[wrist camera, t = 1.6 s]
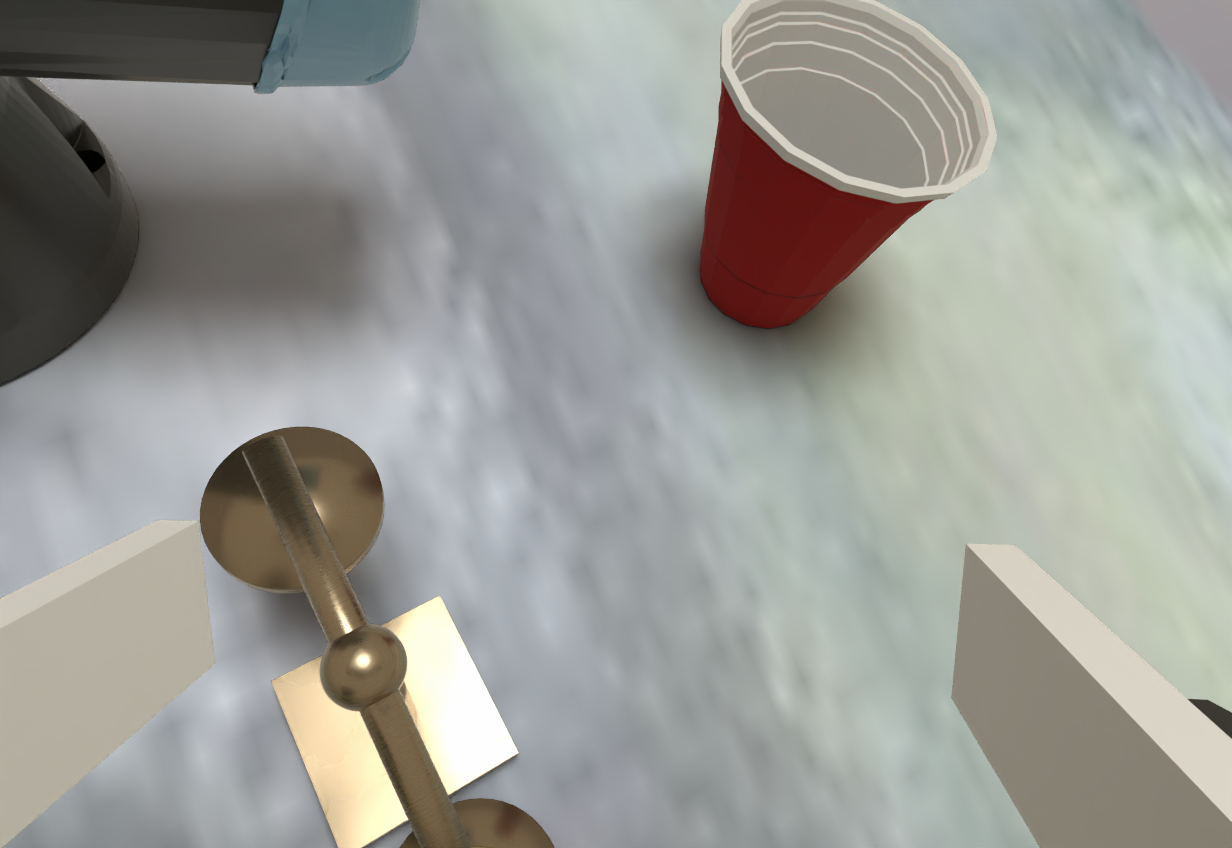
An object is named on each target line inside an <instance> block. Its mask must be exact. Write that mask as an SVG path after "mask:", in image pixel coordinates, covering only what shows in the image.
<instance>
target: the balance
mask: <svg viewBox="0 0 1232 848" xmlns="http://www.w3.org/2000/svg"><path fill="white" fill-rule="evenodd" d="M384 507H385V502H384V493H383V489H382V485H381V481H380V477H379V475H378V472H377V470H376V467H375V466H374V464H373V462H372V461H371V459H370V458H369V457H368V455H367V454H366V453H365V452H364V451H363V450H362V449H361V448H360V447H359V446H358V445H357V444H355V443H354V442H352V441H351V440H349V439H348V438H346V437H344V436H342V435H340V434H338V433H335V432H332V431H329V430H325V429H321V428H314V427H290V428H283V429H278V430H274V431H271V432H268V433H265V434H262V435H260V436H257V437H255V438H253V439H251V440H249V441H248V442H246V443H244V444H243V445H241V446H240V447H238V448H237V449H236V450H234V451H233V452H232V453H231V454H230V455H229V456H228V457H227V458H226V459H224V460H223V462H222V463H221V464H220V465H219V466H218V468H217V469H216V470H215V472H214V473H213V475H212V477H211V478H210V480H209V482H208V484H207V486H206V488H205V491H204V495H203V498H202V502H201V508H200V524H201V531H202V534H203V538H204V541H205V543H206V545H207V547H208V549H209V551H210V552H211V554H212V555H213V557H214V558H215V559H216V561H217V562H218V563H219V564H220V565H221V566H222V567H223V568H224V569H225V570H226V571H227V572H228V573H229V574H230V575H231V576H233V577H234V578H235V579H237V580H238V581H240V582H242V583H244V584H245V585H247V586H250V587H252V588H255V589H258V590H262V591H266V592H271V593H282V594H283V593H299V592H305V593H306V595H307V597H308V599H309V602H310V604H311V606H312V608H313V610H314V613H315V615H316V617H317V619H318V621H319V624H320V626H321V628H322V630H323V633H324V635H325V637H326V639H327V641H328V645H327V647H326V649H325V651H324V653H323V655H322V656H320V657H318V658H316V659H314V660H312V661H310V662H308V663H306V664H304V665H302V666H300V667H298V668H296V669H294V670H292V671H290V672H288V673H286V674H284V675H282V676H280V677H278V678H276V679H274V680H272V681H271V682H272V685H273V687H274V690H275V692H276V695H277V697H278V700H279V702H280V705H281V707H282V709H283V712H284V714H285V717H286V719H287V722H288V724H289V727H290V729H291V732H292V734H293V737H294V739H295V742H296V744H297V747H298V749H299V752H300V754H301V756H302V759H303V761H304V764H305V766H306V769H307V771H308V774H309V776H310V779H311V781H312V784H313V786H314V789H315V791H316V794H317V796H318V799H319V801H320V804H321V806H322V808H323V811H324V813H325V816H326V818H327V821H328V823H329V826H330V828H331V831H332V833H333V836H334V838H335V841H336V843H337V846H338V848H365V847H367V846H368V845H370V844H372V843H373V842H375V841H377V840H378V839H380V838H382V837H383V836H385V835H387V834H388V833H390V832H392V831H393V830H395V829H397V828H398V827H400V826H402V825H403V824H405V823H406V822H408V821H409V823H410V825H411V827H412V829H413V831H412V832H411V834H410V835H409V836H408V837H407V838H406V840H405V841H404V843H403V844H402V846H401V847H400V848H554V845H553V844H552V842H551V840H550V838H549V837H548V835H547V834H546V832H545V831H544V830H543V828H542V827H541V826H540V825H539V824H538V823H537V822H536V821H535V820H534V819H533V818H532V817H531V816H529V815H528V814H527V813H525V812H524V811H523V810H521V809H519V808H517V807H515V806H514V805H511V804H508V803H506V802H503V801H498V800H494V799H482V798H479V799H468V800H464V801H459V802H456V803H453V804H452V802H451V800H450V798H449V796H451V795H453V794H454V793H456V792H458V791H459V790H461V789H463V788H464V787H466V786H468V785H469V784H471V783H473V782H474V781H476V780H478V779H479V778H481V777H482V776H484V775H486V774H487V773H489V772H491V771H492V770H494V769H496V768H497V767H499V766H501V765H502V764H504V763H506V762H507V761H509V760H511V759H512V758H514V757H515V756H517V754H518V751H517V749H516V747H515V745H514V743H513V741H512V739H511V737H510V735H509V733H508V731H507V729H506V727H505V725H504V723H503V721H502V719H501V717H500V715H499V713H498V711H497V709H496V707H495V705H494V703H493V701H492V699H491V697H490V695H489V693H488V691H487V689H486V687H485V685H484V683H483V681H482V679H481V677H480V675H479V673H478V671H477V669H476V667H475V665H474V663H473V661H472V659H471V657H470V655H469V653H468V651H467V649H466V647H465V645H464V643H463V641H462V639H461V637H460V635H459V633H458V631H457V629H456V627H455V625H454V623H453V621H452V619H451V617H450V615H449V613H448V611H447V609H446V607H445V605H444V603H443V601H442V599H441V597H440V596H438V597H436V598H435V599H433V600H431V601H429V602H427V603H425V604H423V605H421V606H419V607H417V608H415V609H413V610H411V611H409V612H407V613H405V614H403V615H401V616H399V617H397V618H395V619H393V620H391V621H389V622H387V623H385V624H383V625H381V626H380V625H376V624H369V622H368V620H367V618H366V616H365V614H364V612H363V609H362V607H361V605H360V603H359V601H358V599H357V596H356V594H355V592H354V590H353V588H352V586H351V583H350V581H349V579H348V577H347V575H346V573H348V572H349V571H351V570H352V569H353V568H354V567H355V566H356V565H357V564H358V563H360V561H361V560H362V559H363V558H364V557H365V556H366V555H367V553H368V552H369V550H370V549H371V548H372V546H373V545H374V543H375V541H376V539H377V537H378V535H379V532H380V529H381V526H382V522H383V517H384Z"/></svg>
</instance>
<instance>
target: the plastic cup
mask: <svg viewBox="0 0 1232 848" xmlns="http://www.w3.org/2000/svg"><path fill="white" fill-rule="evenodd" d="M720 77H721V79H722V86H721V97H720V102H719V122H718V128H717V135H716V141H715V148H714V154H713V161H712V167H711V174H710V180H709V187H708V193H707V200H706V206H705V225H704V234H703V241H702V247H701V262H700V272H701V281H702V284H703V286H704V288H705V290H706V293H707V295H708V297H709V299H710V300H711V301H712V302H713V303H714V304H715V305H716V306H717V307H718V308H719V309H720V310H721V311H722V312H723V313H724V314H725V315H727V316H729V317H731V318H733V319H735V320H737V321H739V322H741V323H743V324H745V325H748V326H755V327H761V328H768V329H770V328H775V327H780V326H785V325H790V324H791V323H792V322H794V321H795V320H797V319H799V318H800V317H802V316H803V315H804V314H806V313H807V312H809V311H810V310H811V309H813V308H814V307H815V306H816V305H817V304H818V303H819V302H820V301H821V300H822V299H823V298H824V297H825V296H826V295H827V294H828V293H829V292H830V291H831V290H832V289H833V288H834V287H835V286H836V285H838V284H839V283H840V282H842V281H843V280H845V279H846V278H847V277H848V276H849V275H850V274H851V273H852V272H853V271H854V270H855V269H856V268H857V267H858V266H859V265H860V264H861V263H863V262H864V261H865V260H866V259H867V258H868V257H869V256H870V255H871V254H872V253H873V252H874V251H875V250H876V249H877V248H878V247H879V246H880V245H881V244H882V243H883V242H885V241H886V240H887V239H888V238H889V237H890V236H891V235H892V234H893V233H894V232H895V231H896V230H897V229H898V228H899V227H900V226H901V225H902V224H903V223H904V222H905V221H907V220H908V219H909V218H910V217H911V216H913V215H914V214H916V213H917V212H919V211H920V210H921V209H922V208H924V207H925V206H926V205H927V204H928V203H930V202H931V201H933V200H936V199H945V198H946V197H948V196H949V195H951V194H952V193H954V192H955V191H957V190H958V189H960V188H961V187H963V186H964V185H966V184H967V183H969V182H970V181H972V180H973V179H975V178H976V177H978V176H979V175H981V174H982V173H984V172H985V171H986V170H987V167H988V164H989V161H990V158H991V155H992V152H993V149H994V146H995V143H996V140H997V134H996V129H995V125H994V121H993V117H992V113H991V108H990V104H989V100H988V98H987V96H986V95H985V93H984V92H983V90H982V89H981V88H980V86H979V85H978V83H977V82H976V80H975V79H974V77H973V76H972V74H971V73H970V71H969V70H968V69H967V67H966V66H965V64H964V63H963V61H962V60H961V59H960V58H959V57H958V56H956V55H955V54H954V53H953V52H952V51H951V50H949V49H948V48H947V47H946V46H945V45H944V44H943V43H941V42H940V41H939V40H938V39H937V38H936V37H934V36H933V35H932V34H931V33H930V32H929V31H927V30H926V29H925V28H924V27H923V26H921V25H919V24H918V23H916V22H914V21H912V20H910V19H908V18H907V17H905V16H903V15H901V14H899V13H897V12H895V11H894V10H892V9H890V8H888V7H886V6H884V5H883V4H881V3H879V2H877V1H875V0H742V1H741V2H740V3H739V5H738V6H737V7H736V9H735V10H734V11H733V13H732V14H731V15H730V17H729V18H728V19H727V20H726V22H725V23H724V24H723V26H722V30H721V42H720Z"/></svg>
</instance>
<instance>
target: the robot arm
mask: <svg viewBox="0 0 1232 848" xmlns="http://www.w3.org/2000/svg"><path fill="white" fill-rule="evenodd" d="M419 5H420V0H0V383H3V382H5V381H8V380H10V379H12V378H14V377H16V376H18V375H21V374H23V373H25V372H27V371H28V370H30V369H32V368H34V367H36V366H38V365H40V364H41V363H43V362H44V361H46V360H48V359H49V358H51V357H53V356H54V355H56V354H57V353H58V352H60V351H61V350H63V349H64V348H66V347H67V346H68V345H70V344H71V343H72V342H73V341H75V340H76V339H77V338H78V337H80V336H81V335H82V334H83V333H84V332H85V331H86V330H87V329H89V328H90V327H91V326H92V325H93V324H94V323H95V322H96V320H97V319H98V318H99V317H100V316H101V315H102V314H103V313H104V312H105V310H106V309H107V308H108V307H109V305H110V304H111V303H112V301H113V300H114V299H115V297H116V296H117V294H118V293H119V291H120V289H121V288H122V286H123V284H124V282H125V280H126V278H127V276H128V274H129V272H130V269H131V267H132V264H133V261H134V258H135V254H136V249H137V244H138V234H139V228H138V216H137V210H136V206H135V203H134V200H133V197H132V194H131V192H130V190H129V188H128V186H127V184H126V182H125V180H124V178H123V176H122V175H121V173H120V171H119V169H118V167H117V165H116V163H115V161H114V159H113V158H112V156H111V154H110V152H109V151H108V149H107V148H106V146H105V145H104V144H103V142H102V141H101V140H100V138H99V137H98V136H97V134H96V133H95V132H94V131H93V130H92V129H91V128H90V127H89V126H88V124H87V123H85V122H84V121H83V120H82V119H81V118H80V117H79V116H78V115H77V114H75V113H74V112H73V111H72V110H71V109H70V108H69V107H68V106H66V105H65V104H64V103H63V102H62V101H61V100H60V99H59V98H58V97H56V96H55V95H54V94H53V93H52V92H51V91H50V90H49V89H47V88H46V87H45V86H44V85H43V84H42V83H41V82H40V81H39V80H37V79H36V78H35V77H37V78H65V79H93V80H121V81H149V82H177V83H206V84H234V85H253V89H254V92H255V93H257V94H269V93H273V92H274V91H275V90H276V89H277V88H278V87H289V86H364V85H369V84H373V83H377V82H379V81H382V80H384V79H386V78H387V77H389V76H390V75H391V74H393V73H394V72H395V71H396V70H397V69H398V68H399V67H400V66H401V65H402V64H403V62H404V61H405V59H406V57H407V56H408V54H409V52H410V49H411V47H412V44H413V41H414V38H415V33H416V26H417V19H418V12H419ZM214 664H215V660H214V651H213V642H212V634H211V625H210V616H209V607H208V599H207V590H206V581H205V573H204V564H203V555H202V547H201V538H200V529H199V521H179V520H156V521H154V522H152V523H150V524H148V525H146V526H144V527H142V528H140V529H138V530H136V531H134V532H132V533H130V534H128V535H126V536H124V537H122V538H120V539H118V540H116V541H114V542H112V543H110V544H108V545H106V546H104V547H102V548H100V549H98V550H96V551H94V552H92V553H90V554H88V555H86V556H84V557H82V558H80V559H78V560H76V561H74V562H72V563H70V564H68V565H66V566H64V567H62V568H60V569H58V570H56V571H54V572H52V573H50V574H48V575H46V576H44V577H42V578H40V579H38V580H36V581H34V582H32V583H30V584H28V585H26V586H24V587H22V588H20V589H18V590H16V591H14V592H12V593H10V594H8V595H6V596H4V597H2V598H0V848H2V847H3V846H4V845H5V844H7V843H8V842H9V841H10V840H11V839H12V838H14V837H15V836H16V835H17V834H18V833H19V832H21V831H22V830H23V829H24V828H25V827H26V826H27V825H29V824H30V823H31V822H32V821H33V820H34V819H36V818H37V817H38V816H39V815H40V814H41V813H43V812H44V811H45V810H46V809H47V808H48V807H50V806H51V805H52V804H53V803H54V802H55V801H56V800H58V799H59V798H60V797H61V796H62V795H63V794H65V793H66V792H67V791H68V790H69V789H70V788H72V787H73V786H74V785H75V784H76V783H77V782H79V781H80V780H81V779H82V778H83V777H84V776H85V775H87V774H88V773H89V772H90V771H91V770H92V769H94V768H95V767H96V766H97V765H98V764H99V763H101V762H102V761H103V760H104V759H105V758H106V757H107V756H109V755H110V754H111V753H112V752H113V751H114V750H116V749H117V748H118V747H119V746H120V745H121V744H123V743H124V742H125V741H126V740H127V739H128V738H130V737H131V736H132V735H133V734H134V733H135V732H136V731H138V730H139V729H140V728H141V727H142V726H143V725H145V724H146V723H147V722H148V721H149V720H150V719H152V718H153V717H154V716H155V715H156V714H157V713H159V712H160V711H161V710H162V709H163V708H164V707H165V706H167V705H168V704H169V703H170V702H171V701H172V700H174V699H175V698H176V697H177V696H178V695H179V694H181V693H182V692H183V691H184V690H185V689H186V688H187V687H189V686H190V685H191V684H192V683H193V682H194V681H196V680H197V679H198V678H199V677H200V676H201V675H203V674H204V673H205V672H206V671H207V670H208V669H210V668H211V667H212V666H213V665H214ZM951 698H952V700H953V701H954V703H955V705H956V706H957V708H958V710H959V711H960V713H961V715H962V716H963V718H964V720H965V722H966V723H967V725H968V727H969V728H970V730H971V732H972V733H973V735H974V737H975V738H976V740H977V742H978V744H979V745H980V747H981V749H982V750H983V752H984V754H985V755H986V757H987V759H988V761H989V762H990V764H991V766H992V767H993V769H994V771H995V772H996V774H997V776H998V777H999V779H1000V781H1001V783H1002V784H1003V786H1004V788H1005V789H1006V791H1007V793H1008V794H1009V796H1010V798H1011V799H1012V801H1013V803H1014V805H1015V806H1016V808H1017V810H1018V811H1019V813H1020V815H1021V816H1022V818H1023V820H1024V822H1025V823H1026V825H1027V827H1028V828H1029V830H1030V832H1031V833H1032V835H1033V837H1034V838H1035V840H1036V842H1037V844H1038V845H1039V847H1040V848H1232V713H1231V712H1229V711H1228V710H1226V709H1224V708H1222V707H1220V706H1218V705H1216V704H1214V703H1213V702H1211V701H1209V700H1199V699H1186V698H1185V697H1184V696H1183V695H1182V694H1181V693H1180V692H1179V691H1178V690H1176V689H1175V688H1174V687H1173V686H1172V685H1171V684H1170V683H1169V682H1167V681H1166V680H1165V679H1164V678H1163V677H1162V676H1161V675H1160V674H1158V673H1157V672H1156V671H1155V670H1154V669H1153V668H1152V667H1151V666H1150V665H1148V664H1147V663H1146V662H1145V661H1144V660H1143V659H1142V658H1141V657H1139V656H1138V655H1137V654H1136V653H1135V652H1134V651H1133V650H1132V649H1131V648H1129V647H1128V646H1127V645H1126V644H1125V643H1124V642H1123V641H1122V640H1120V639H1119V638H1118V637H1117V636H1116V635H1115V634H1114V633H1113V632H1112V631H1110V630H1109V629H1108V628H1107V627H1106V626H1105V625H1104V624H1103V623H1101V622H1100V621H1099V620H1098V619H1097V618H1096V617H1095V616H1094V615H1093V614H1091V613H1090V612H1089V611H1088V610H1087V609H1086V608H1085V607H1084V606H1082V605H1081V604H1080V603H1079V602H1078V601H1077V600H1076V599H1075V598H1074V597H1072V596H1071V595H1070V594H1069V593H1068V592H1067V591H1066V590H1065V589H1063V588H1062V587H1061V586H1060V585H1059V584H1058V583H1057V582H1056V581H1054V580H1053V579H1052V578H1051V577H1050V576H1049V575H1048V574H1047V573H1046V572H1044V571H1043V570H1042V569H1041V568H1040V567H1039V566H1038V565H1037V564H1035V563H1034V562H1033V561H1032V560H1031V559H1030V558H1029V557H1028V556H1027V555H1025V554H1024V553H1023V552H1022V551H1021V550H1020V549H1019V548H1018V547H1016V546H1015V545H993V544H966V548H965V559H964V570H963V580H962V591H961V601H960V612H959V623H958V633H957V644H956V654H955V665H954V675H953V686H952V697H951Z"/></svg>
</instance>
